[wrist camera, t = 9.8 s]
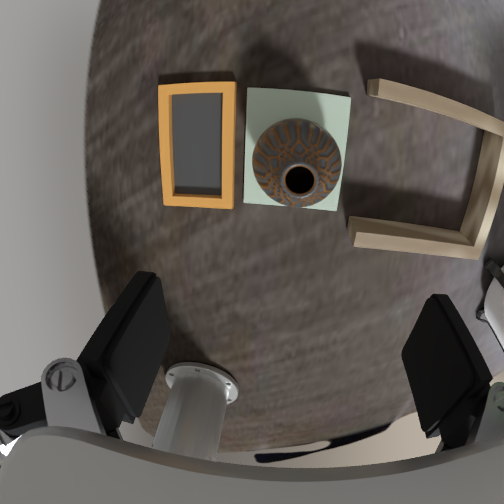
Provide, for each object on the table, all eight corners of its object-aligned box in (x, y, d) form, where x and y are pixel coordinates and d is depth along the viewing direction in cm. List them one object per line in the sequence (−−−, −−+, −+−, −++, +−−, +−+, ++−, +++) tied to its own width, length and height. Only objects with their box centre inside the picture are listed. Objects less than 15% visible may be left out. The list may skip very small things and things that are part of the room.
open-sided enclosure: (464, 244, 27) (478, 259, 24) (346, 229, 28) (353, 246, 25) (495, 121, 20) (514, 127, 17) (367, 79, 21) (379, 78, 18)
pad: (335, 209, 28) (336, 211, 27) (244, 201, 28) (243, 202, 28) (350, 97, 22) (350, 97, 21) (247, 87, 22) (247, 87, 22)
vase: (346, 168, 25) (371, 203, 17) (281, 200, 27) (278, 247, 20) (309, 101, 22) (322, 105, 15) (242, 139, 25) (222, 160, 17)
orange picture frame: (233, 205, 29) (232, 209, 28) (167, 201, 29) (163, 205, 28) (236, 82, 22) (234, 81, 21) (162, 85, 23) (158, 85, 22)
